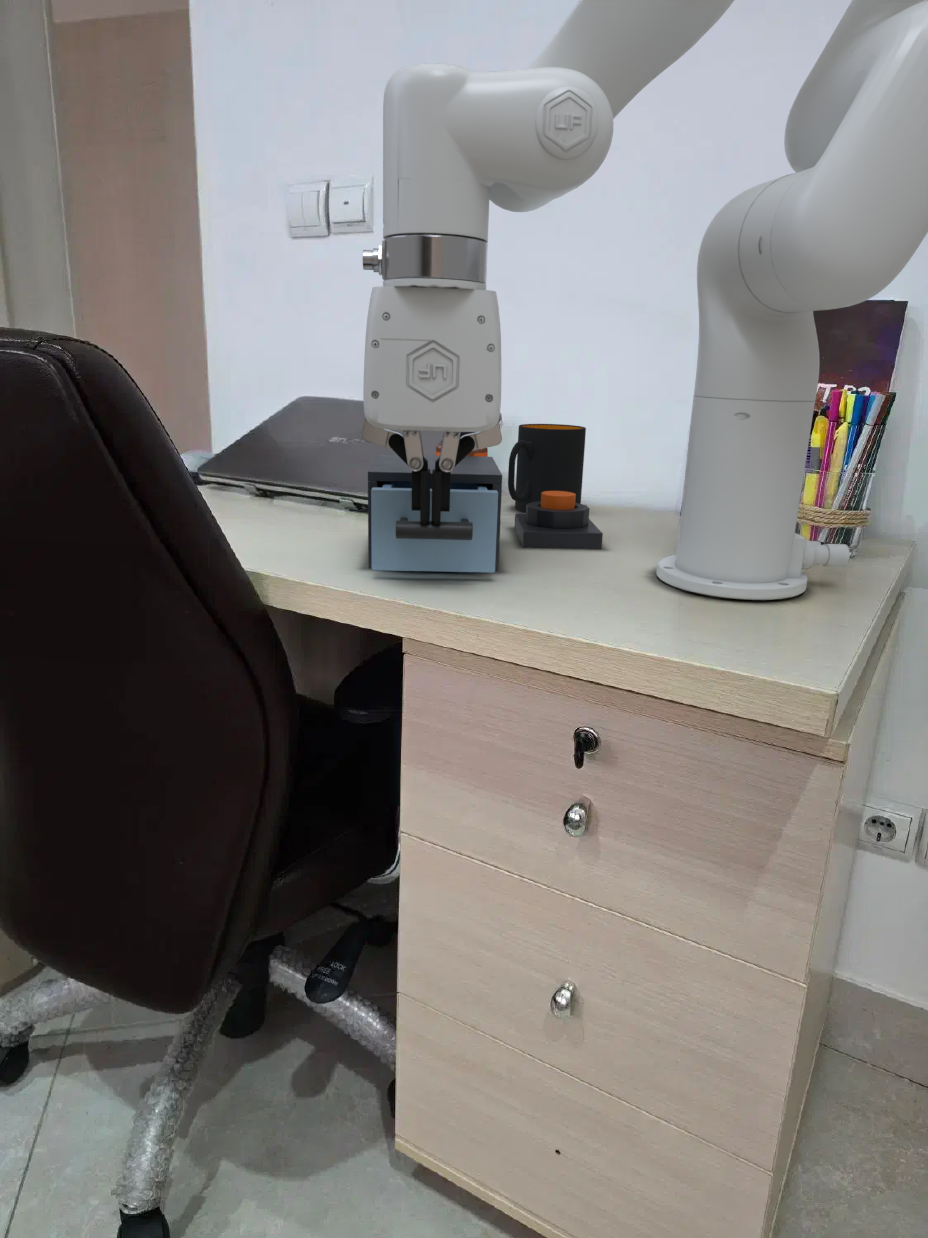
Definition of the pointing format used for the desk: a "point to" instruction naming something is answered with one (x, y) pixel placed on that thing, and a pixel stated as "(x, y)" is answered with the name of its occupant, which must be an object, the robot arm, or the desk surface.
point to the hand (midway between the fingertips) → (430, 519)
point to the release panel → (557, 528)
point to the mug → (546, 462)
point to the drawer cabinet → (463, 472)
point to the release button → (558, 500)
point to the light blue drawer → (434, 530)
